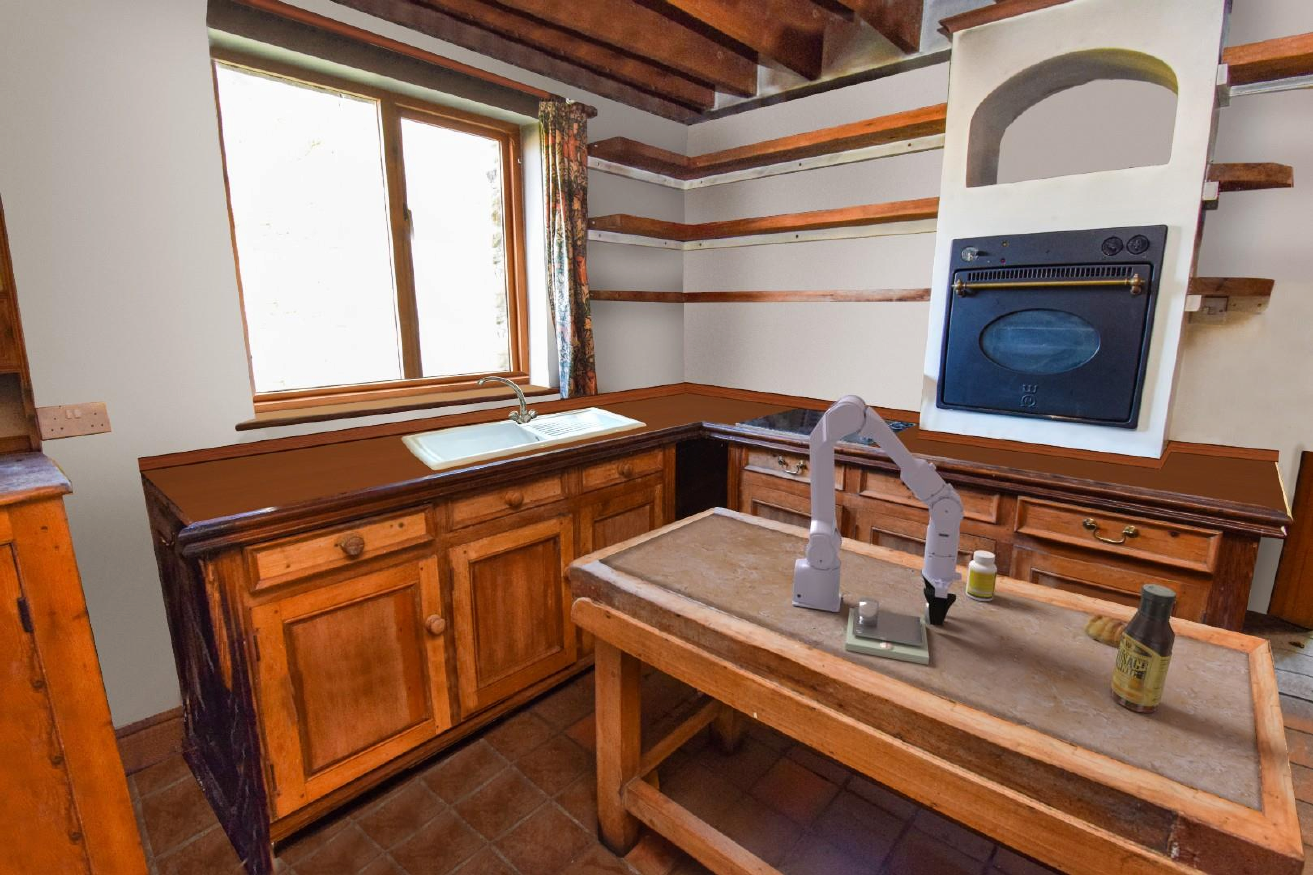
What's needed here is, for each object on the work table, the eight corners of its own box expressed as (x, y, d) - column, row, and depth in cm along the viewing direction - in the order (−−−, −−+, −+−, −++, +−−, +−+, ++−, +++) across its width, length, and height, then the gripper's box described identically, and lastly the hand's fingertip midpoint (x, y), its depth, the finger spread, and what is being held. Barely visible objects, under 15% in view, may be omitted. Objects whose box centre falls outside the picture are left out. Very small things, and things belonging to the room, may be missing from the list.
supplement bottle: (997, 603, 129) (1002, 560, 127) (969, 600, 130) (974, 558, 128) (988, 591, 135) (994, 549, 132) (962, 589, 136) (967, 548, 134)
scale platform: (851, 639, 114) (852, 631, 114) (854, 613, 123) (854, 606, 123) (921, 651, 110) (922, 643, 110) (919, 624, 119) (919, 616, 119)
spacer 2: (924, 624, 121) (926, 606, 120) (923, 615, 124) (925, 597, 124) (944, 627, 120) (946, 609, 119) (942, 618, 123) (944, 600, 122)
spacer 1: (857, 623, 116) (858, 604, 116) (857, 614, 120) (859, 596, 119) (877, 627, 115) (878, 607, 114) (877, 618, 119) (878, 599, 118)
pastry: (1153, 648, 113) (1156, 629, 112) (1137, 659, 109) (1140, 640, 109) (1095, 625, 121) (1098, 608, 120) (1079, 636, 117) (1082, 617, 116)
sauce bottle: (1099, 691, 100) (1119, 579, 96) (1135, 689, 101) (1156, 577, 96) (1133, 718, 94) (1155, 598, 89) (1171, 715, 94) (1195, 597, 90)
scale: (845, 649, 112) (845, 641, 112) (849, 613, 125) (849, 606, 125) (928, 664, 108) (929, 656, 107) (923, 625, 121) (924, 617, 120)
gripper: (968, 569, 111) (960, 636, 114) (959, 540, 124) (953, 601, 127) (926, 563, 113) (919, 630, 116) (922, 535, 127) (916, 596, 130)
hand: (934, 615), depth 122 cm, fingers open, 7 cm apart
